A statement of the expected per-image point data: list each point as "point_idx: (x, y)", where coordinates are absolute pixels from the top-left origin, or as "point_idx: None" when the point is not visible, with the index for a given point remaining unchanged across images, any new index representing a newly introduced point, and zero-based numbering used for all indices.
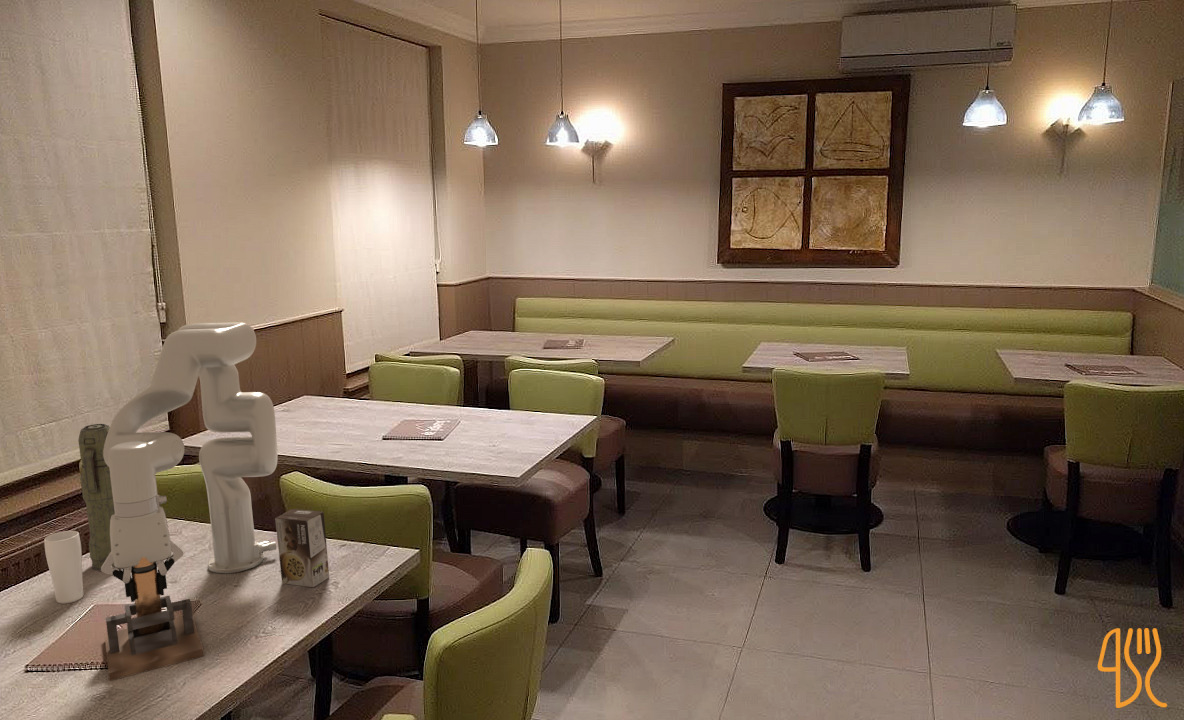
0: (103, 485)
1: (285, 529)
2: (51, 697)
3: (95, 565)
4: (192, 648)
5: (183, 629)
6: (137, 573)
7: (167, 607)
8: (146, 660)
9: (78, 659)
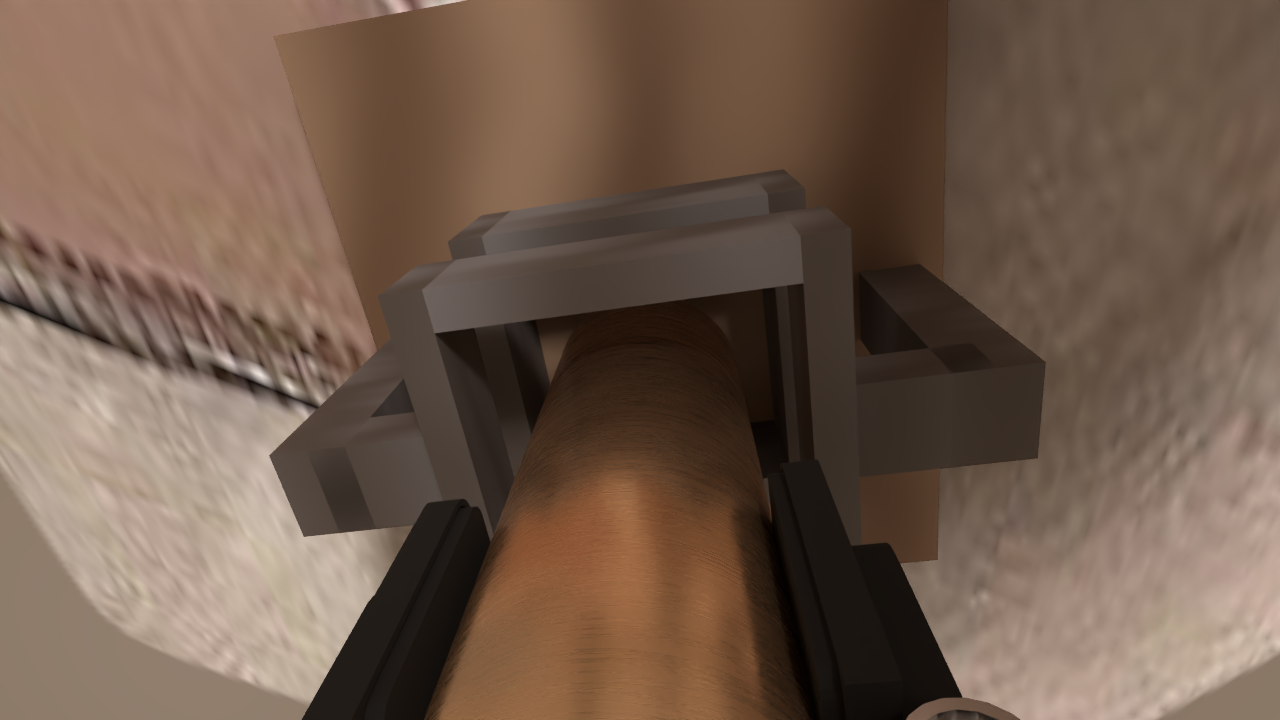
0: None
1: None
2: (249, 606)
3: None
4: (882, 532)
5: (854, 236)
6: None
7: (809, 451)
8: None
9: (219, 263)
